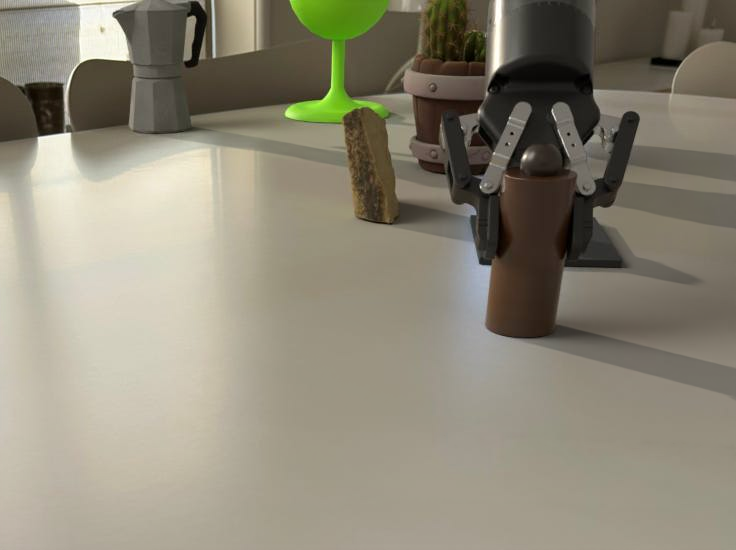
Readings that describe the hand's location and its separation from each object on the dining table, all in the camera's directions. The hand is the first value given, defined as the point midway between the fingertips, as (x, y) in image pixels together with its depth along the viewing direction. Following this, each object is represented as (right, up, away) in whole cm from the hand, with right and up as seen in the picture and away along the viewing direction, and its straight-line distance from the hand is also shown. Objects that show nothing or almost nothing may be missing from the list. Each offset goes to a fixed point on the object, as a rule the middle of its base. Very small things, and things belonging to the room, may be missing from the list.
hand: (532, 253), depth 73 cm
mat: (+7, +10, +25) cm, 28 cm away
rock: (-6, +17, +36) cm, 41 cm away
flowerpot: (+5, +30, +55) cm, 63 cm away
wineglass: (-7, +54, +90) cm, 106 cm away
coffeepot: (-32, +48, +81) cm, 100 cm away
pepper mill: (0, -4, +5) cm, 6 cm away
